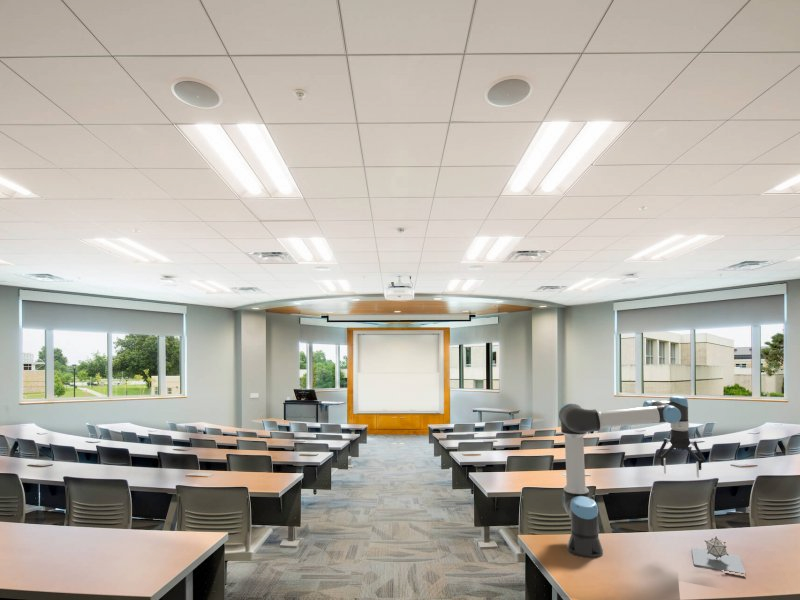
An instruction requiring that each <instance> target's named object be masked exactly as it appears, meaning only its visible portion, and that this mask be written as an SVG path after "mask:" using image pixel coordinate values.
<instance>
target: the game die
mask: <svg viewBox="0 0 800 600" xmlns="http://www.w3.org/2000/svg"><path fill="white" fill-rule="evenodd" d="M704 542H705V544H706V550H708V553H707V554H709V553H710V554H712V555H713V556H715V557H716V559H717V558H718V557H720V558H721V556H723V555H726V554H727V553H728V552H727V549H726V548H727V546H726V543H727V542H726V541H722V540H721V539H719V538H718V537H717V536H715V538H712V537H711V539H709V540H704ZM728 554H729V553H728ZM728 554H727V555H728Z"/></svg>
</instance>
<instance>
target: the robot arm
mask: <svg viewBox="0 0 800 600" xmlns="http://www.w3.org/2000/svg"><path fill="white" fill-rule="evenodd" d="M558 419H559V422H560V430H561V433H562V435H564V448H565V449H564V450H565V454H564V455H565V472H566V473H565V474H566V475H565V476H566V485H565V486H564V487H563V495H562V497H561V499H562V500H561V503H562V507H563V510H564V511H565V512H566V514H567V515H568V517H569V519H570V531H571V533H570V536H569V539H568V543H567V551H568V553H569V554H571V555H574V556H576V557H580V558H587V559H596V558H601V557H602V556H603V555H604V550H603V547H602V545H601V540H600V538H599V508H598V504H597V502H596V501H595V500H594V499H593V498H590V489H589V488H588V487H587V486H586V472H585V469H586V467H585V443H584V436H585V435H587V433H589V432H600V431H601V430H602V429H607V428H616V427H627V426H638V425H640V426H641V425H648V424H657V423H658V424H662V423H668V424H670V428H671V429H670V439H669V438H667V437H664V438H663V442H662V445H661V446H660V448H659V450H658V451H657V453H656V457H657V458H659V459H660V465H661V466H662V467H663V474H664V475H666V474H667V468H666V466H667V465H666V463H667V462H666V457H667V456H668V455H669V454H670V453H671V452H672V451H673V450H674V449H676V450H681V451H685V450H686V451H687V452H688V453H689V454H690V455H691V456H692V458H694V459H695V460H696V463H695V465H696V466H695V468H696V477H697V478H700V472H699V471H702V463H706V460H707V459H706V458H705V457H704V455H703V454H702V451H701V449H700V448H699V446H698V443H697V440H690V432H689V429H690V428H689V426H690V424H689V423H690V422H689V402H688V399H687V397H685V396H682V395H681V396H680V395H670V396H669V400H652V399H651V400H645V401H644V402H643V404H642V407H631V408H620V409H608V410H597V409H596V408H595V409H586V408H583V407H581V406H580V405H579V404H576V403H566V404H564V405H562V407H561V408H560V409H559V411H558ZM669 443H670V444H671V445H670V446H669V447H668V449H666V450H665V452H664V453H663V451H664V449H665V447H666V445H667V444H669ZM690 445H692V446H693V447H694V448H695V451H696V452H697V453H698V455H699V456H697V454H696V453H695V452H694V451H693V450H692V449H691V448H690V447H689V446H690ZM662 453H663V454H662ZM699 457H700V458H699Z"/></svg>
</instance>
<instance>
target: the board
mask: <svg viewBox="0 0 800 600" xmlns="http://www.w3.org/2000/svg"><path fill="white" fill-rule="evenodd" d="M707 553H708V549H703V548H698V547H691V557H692V561H693V562H694V563H693V566H694V567H696V566H698V567H697V568H703V567H706V568H705V569H709V568H712V569H711V570H715V569H717V570H716V571H721V570H724V571H729V572H735V573H741V574H745V575H746V571H745V568H744V566H743V563H742V560H741V557H740V555H737V554H732V553H728V552H727V554H728V555H727V554H726V555H723V556H721V558H720V557H718V558H717V559H716V557H715V556H713V555H712V554H710V553H709V554H707Z"/></svg>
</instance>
